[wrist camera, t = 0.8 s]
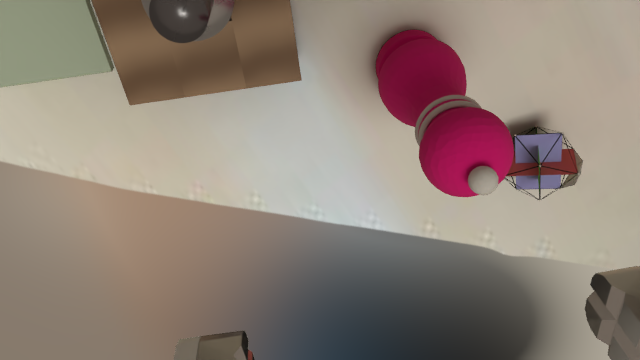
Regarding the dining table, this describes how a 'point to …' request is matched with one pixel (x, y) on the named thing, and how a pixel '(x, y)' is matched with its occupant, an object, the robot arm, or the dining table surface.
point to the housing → (200, 51)
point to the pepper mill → (443, 115)
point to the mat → (49, 41)
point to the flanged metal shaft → (188, 18)
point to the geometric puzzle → (543, 162)
